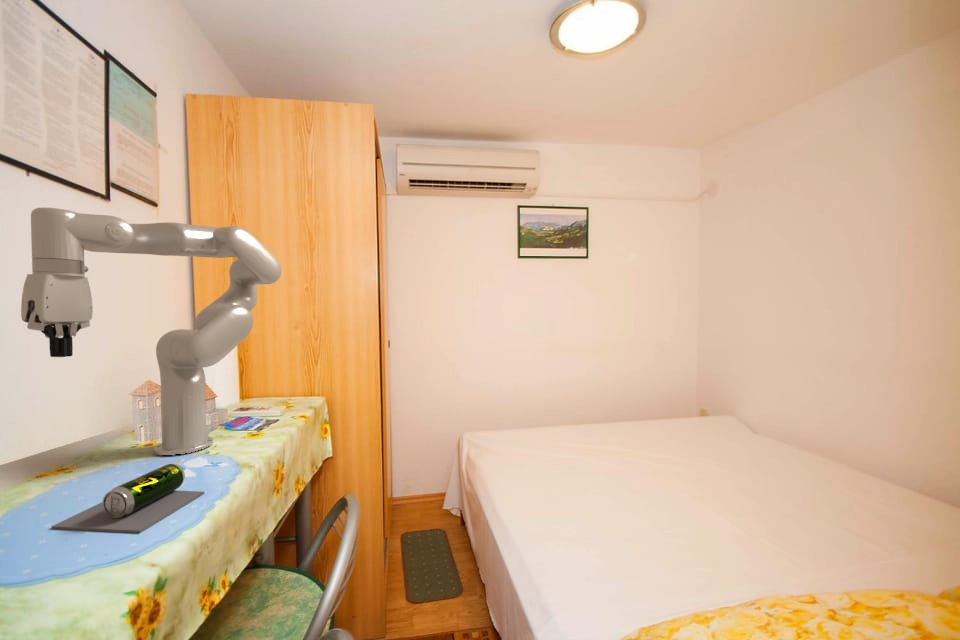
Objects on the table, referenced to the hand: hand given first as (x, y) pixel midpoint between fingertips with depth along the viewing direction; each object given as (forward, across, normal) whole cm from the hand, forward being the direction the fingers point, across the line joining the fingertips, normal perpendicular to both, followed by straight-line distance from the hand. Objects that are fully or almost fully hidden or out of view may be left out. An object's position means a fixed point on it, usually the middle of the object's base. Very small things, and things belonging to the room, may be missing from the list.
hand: (61, 356), depth 83 cm
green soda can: (+24, +1, +26) cm, 35 cm away
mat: (+27, +9, +25) cm, 38 cm away
